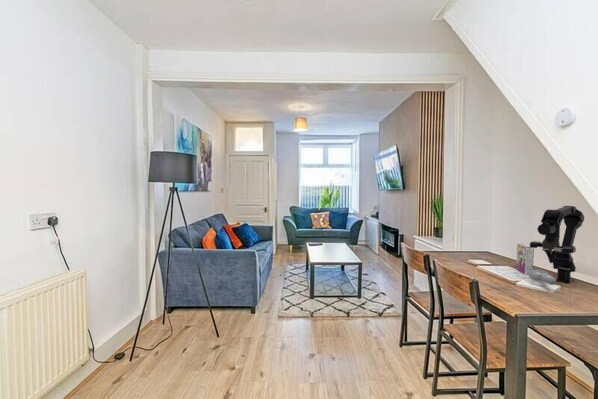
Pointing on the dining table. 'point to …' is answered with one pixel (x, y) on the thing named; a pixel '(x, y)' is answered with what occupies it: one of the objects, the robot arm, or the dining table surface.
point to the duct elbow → (542, 276)
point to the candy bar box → (524, 258)
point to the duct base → (527, 284)
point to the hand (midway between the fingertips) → (551, 263)
